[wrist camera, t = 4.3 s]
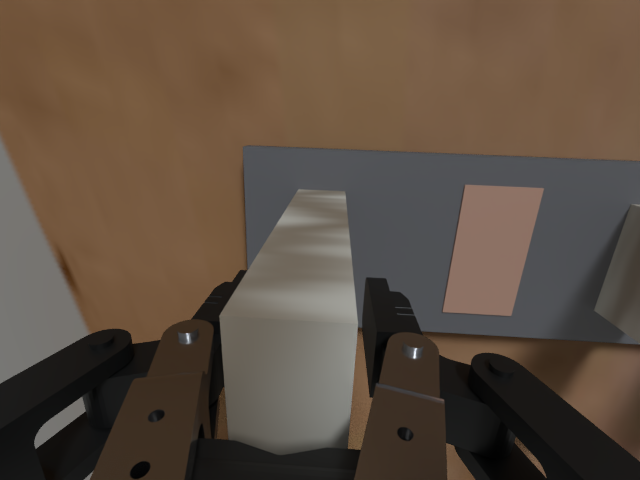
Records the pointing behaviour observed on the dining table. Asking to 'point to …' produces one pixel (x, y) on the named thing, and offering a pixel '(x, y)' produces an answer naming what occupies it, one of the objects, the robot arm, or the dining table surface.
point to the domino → (294, 333)
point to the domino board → (465, 232)
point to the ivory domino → (624, 280)
